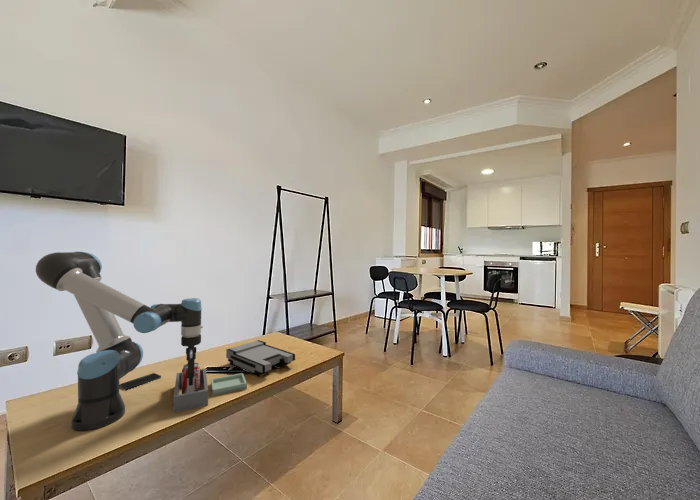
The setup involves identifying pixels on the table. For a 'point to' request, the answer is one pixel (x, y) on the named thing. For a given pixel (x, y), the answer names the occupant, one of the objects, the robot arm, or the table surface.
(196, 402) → the can holder
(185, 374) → the soda can
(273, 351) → the office tray
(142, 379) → the phone
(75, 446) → the table surface
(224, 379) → the green tray
